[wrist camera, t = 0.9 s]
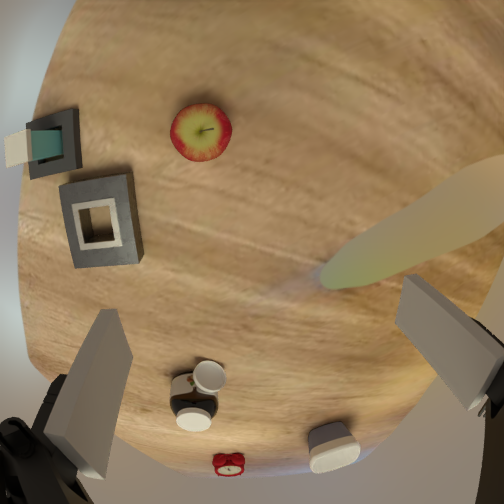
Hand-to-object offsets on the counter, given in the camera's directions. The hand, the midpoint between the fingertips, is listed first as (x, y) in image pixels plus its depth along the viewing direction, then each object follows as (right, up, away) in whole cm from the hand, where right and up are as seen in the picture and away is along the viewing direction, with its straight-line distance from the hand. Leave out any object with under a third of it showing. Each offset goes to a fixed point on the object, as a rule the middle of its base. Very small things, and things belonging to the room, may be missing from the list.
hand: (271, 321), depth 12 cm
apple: (-8, +21, +29) cm, 37 cm away
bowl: (+22, -52, +62) cm, 84 cm away
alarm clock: (-8, -62, +62) cm, 88 cm away
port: (-25, +9, +32) cm, 41 cm away
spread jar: (-12, -24, +47) cm, 54 cm away
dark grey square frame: (-34, +21, +26) cm, 47 cm away
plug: (-34, +21, +26) cm, 47 cm away
